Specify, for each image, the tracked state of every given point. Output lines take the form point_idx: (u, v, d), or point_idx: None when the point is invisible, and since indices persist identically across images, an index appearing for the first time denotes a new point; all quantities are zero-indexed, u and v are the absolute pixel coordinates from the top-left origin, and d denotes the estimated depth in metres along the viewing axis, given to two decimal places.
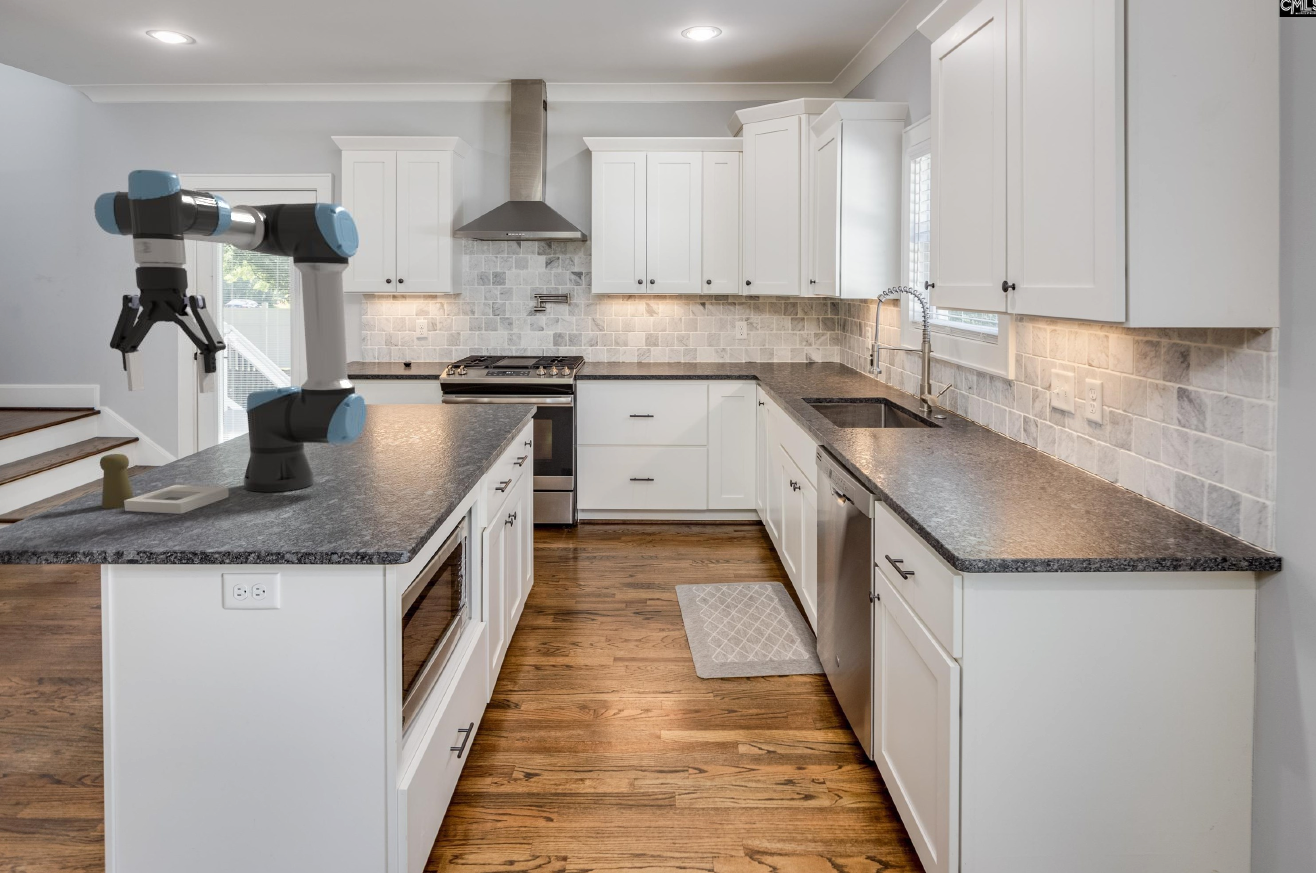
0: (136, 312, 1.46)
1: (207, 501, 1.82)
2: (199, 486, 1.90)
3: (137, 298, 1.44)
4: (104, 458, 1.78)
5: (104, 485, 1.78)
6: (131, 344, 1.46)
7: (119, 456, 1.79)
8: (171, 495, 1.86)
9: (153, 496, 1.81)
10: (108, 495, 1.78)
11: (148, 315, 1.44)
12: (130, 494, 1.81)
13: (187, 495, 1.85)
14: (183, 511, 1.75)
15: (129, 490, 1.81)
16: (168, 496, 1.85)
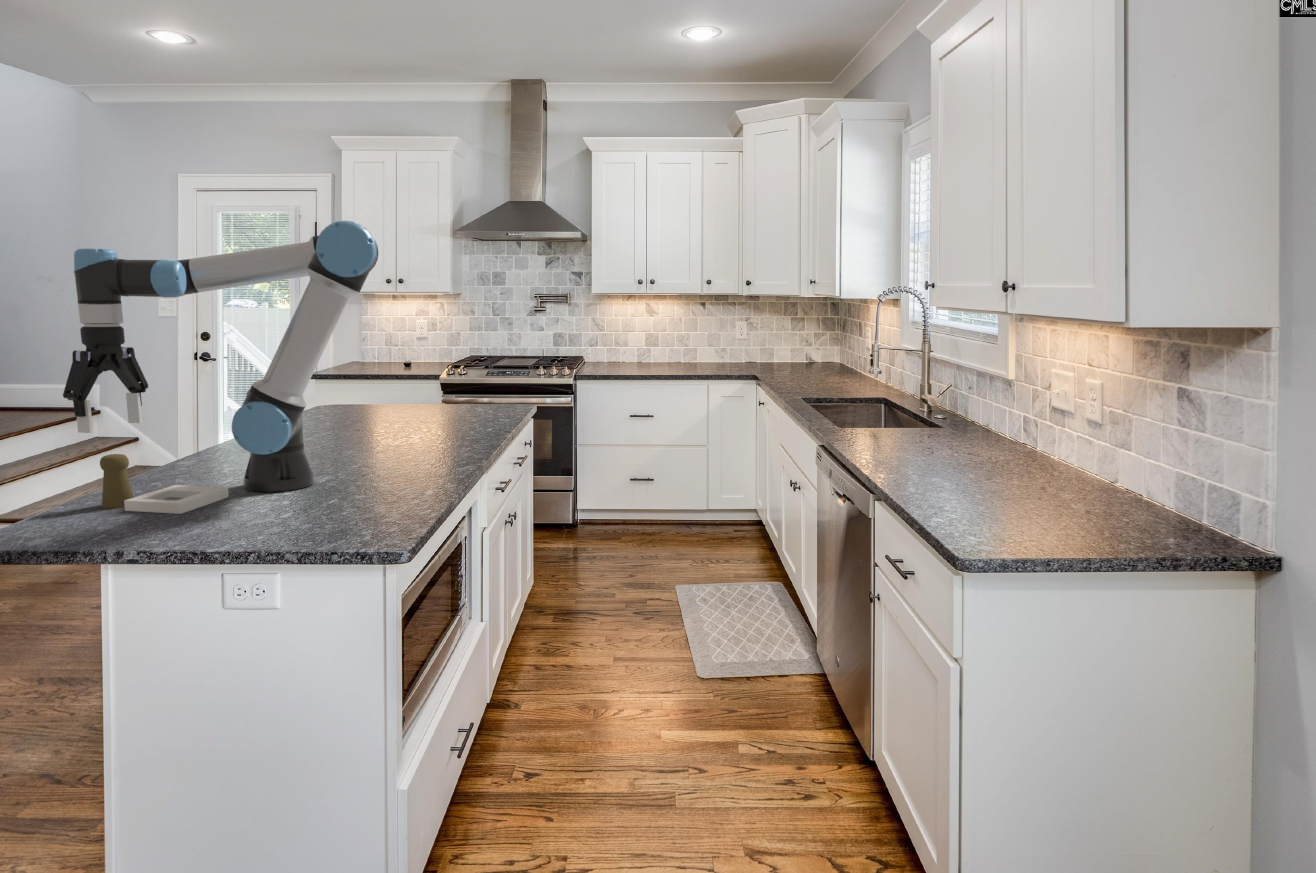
0: (130, 361, 1.82)
1: (207, 501, 1.82)
2: (199, 486, 1.90)
3: None
4: (104, 458, 1.78)
5: (104, 485, 1.78)
6: (126, 386, 1.83)
7: (119, 456, 1.79)
8: (171, 495, 1.86)
9: (153, 496, 1.81)
10: (108, 495, 1.78)
11: None
12: (130, 494, 1.81)
13: (187, 495, 1.85)
14: (183, 511, 1.75)
15: (129, 490, 1.81)
16: (168, 496, 1.85)
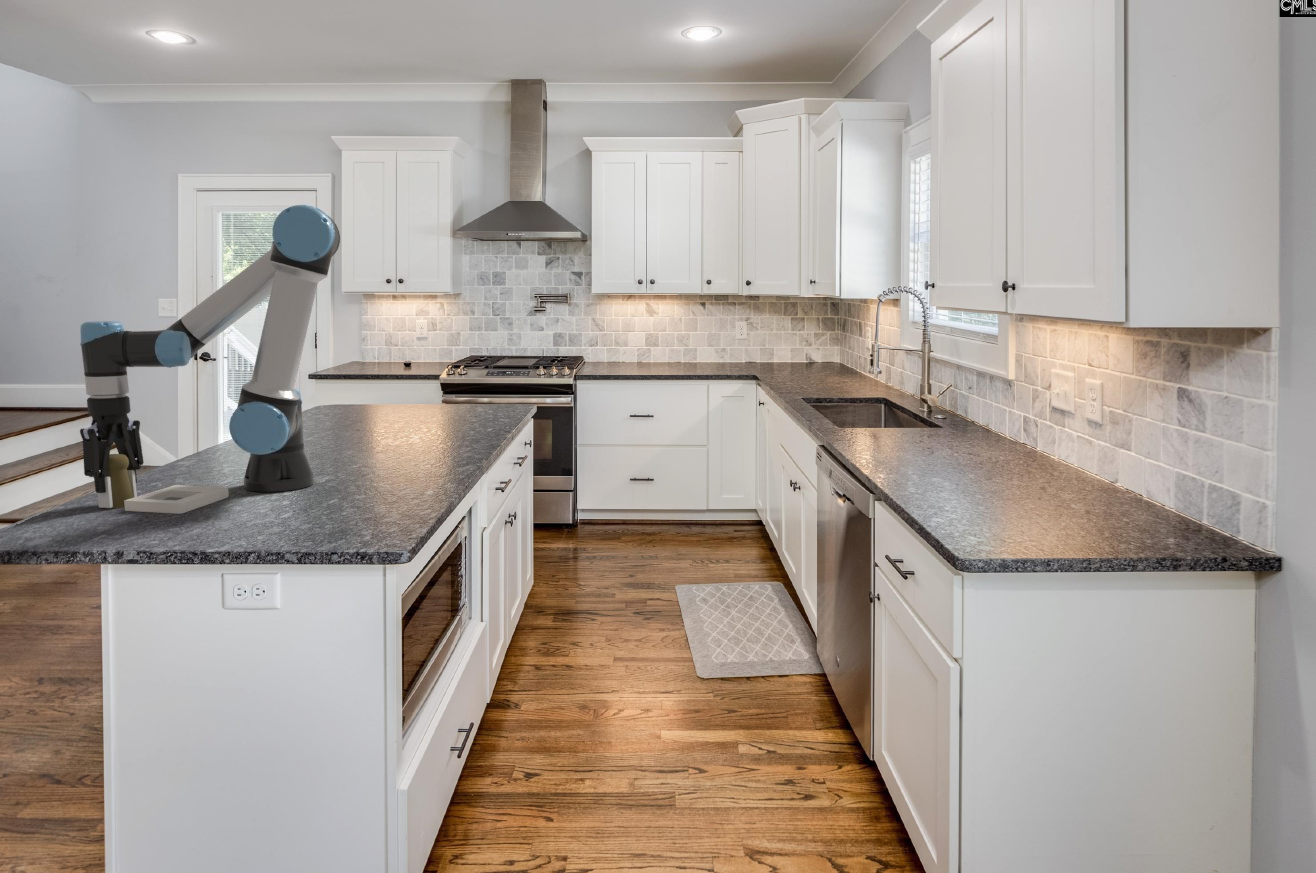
0: (133, 433, 1.84)
1: (207, 501, 1.82)
2: (199, 486, 1.90)
3: None
4: None
5: None
6: None
7: (119, 456, 1.79)
8: (171, 495, 1.86)
9: (153, 496, 1.81)
10: None
11: None
12: (130, 494, 1.81)
13: (187, 495, 1.85)
14: (183, 511, 1.75)
15: (129, 490, 1.81)
16: (168, 496, 1.85)
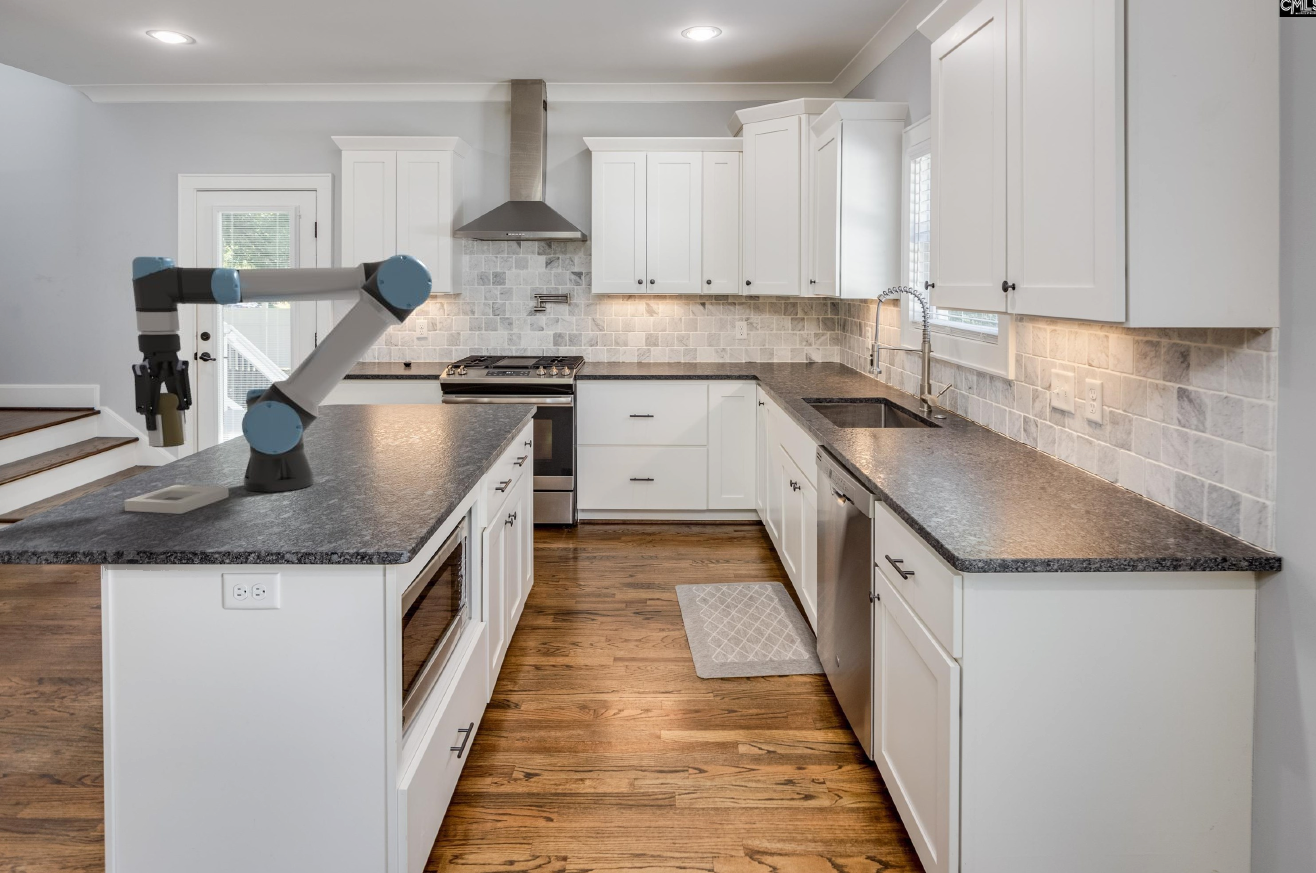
0: (182, 373, 1.82)
1: (207, 501, 1.82)
2: (199, 486, 1.90)
3: None
4: None
5: None
6: None
7: (169, 394, 1.77)
8: (171, 495, 1.86)
9: (153, 496, 1.81)
10: None
11: None
12: (180, 434, 1.79)
13: (187, 495, 1.85)
14: (183, 511, 1.75)
15: (179, 429, 1.79)
16: (168, 496, 1.85)
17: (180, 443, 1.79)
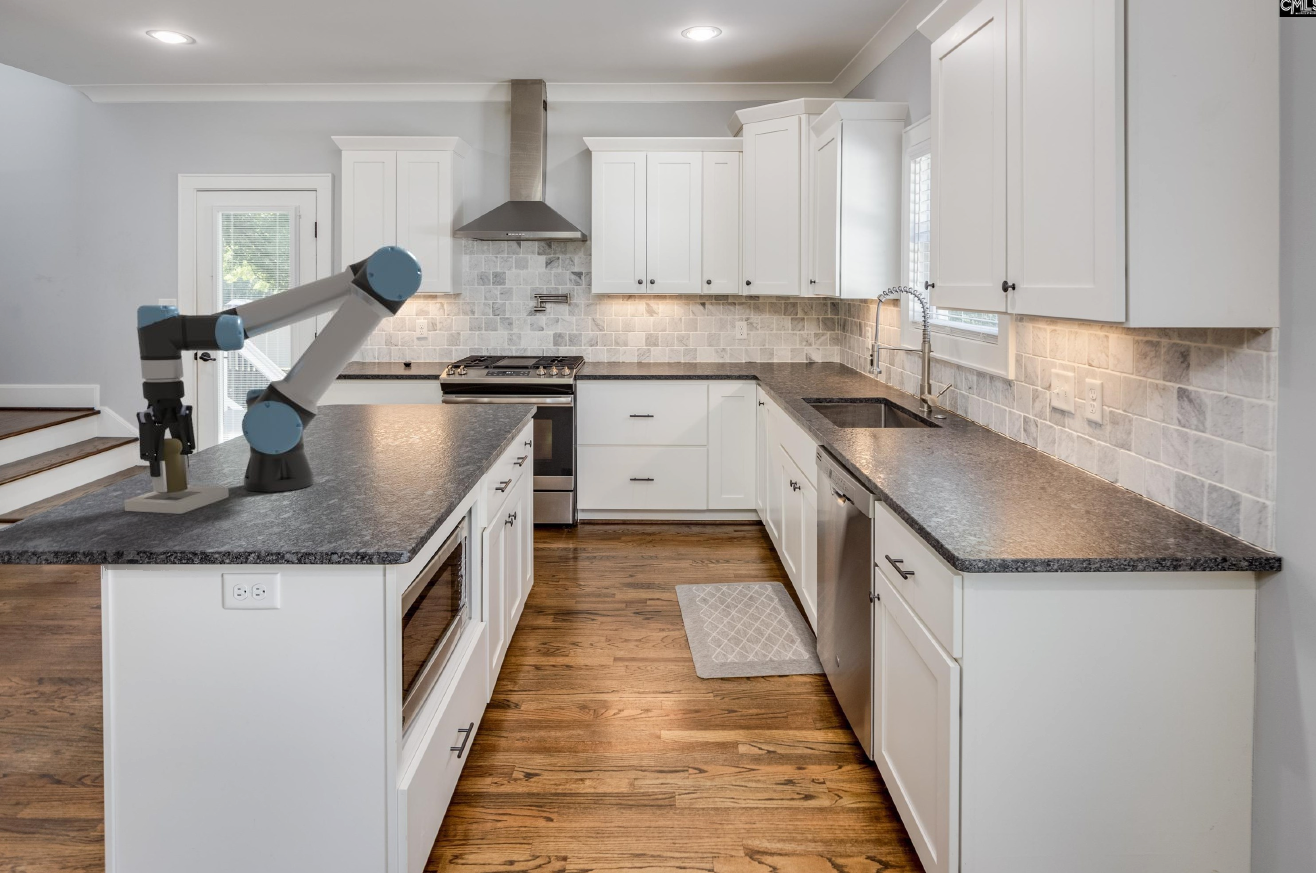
0: (186, 418, 1.83)
1: (207, 501, 1.82)
2: (199, 486, 1.90)
3: None
4: None
5: None
6: None
7: (173, 440, 1.78)
8: (171, 495, 1.86)
9: (153, 496, 1.81)
10: None
11: None
12: (183, 479, 1.80)
13: (187, 495, 1.85)
14: (183, 511, 1.75)
15: (182, 475, 1.80)
16: (168, 496, 1.85)
17: (183, 488, 1.80)
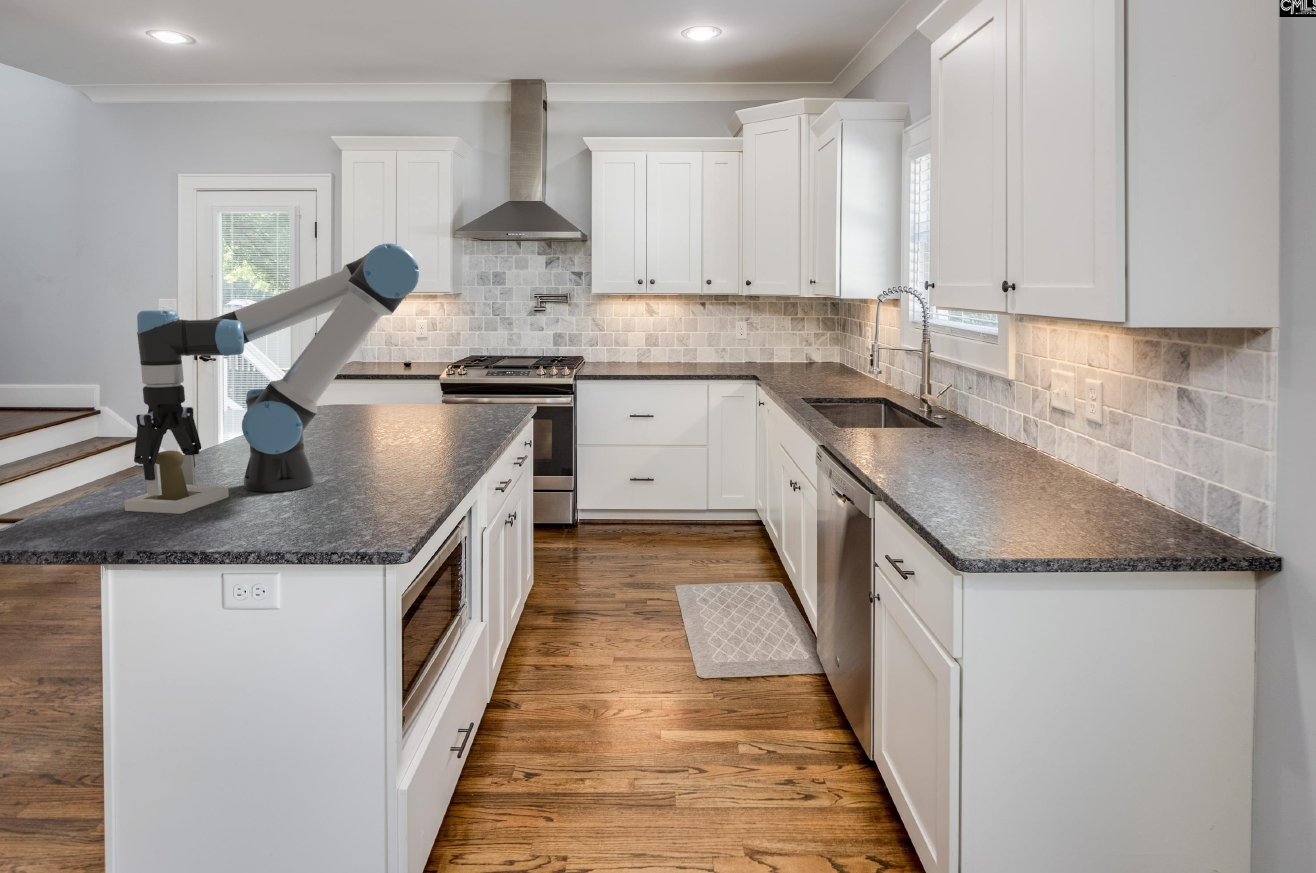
0: (188, 420, 1.84)
1: (207, 501, 1.82)
2: (199, 486, 1.90)
3: None
4: (159, 455, 1.77)
5: None
6: (181, 447, 1.84)
7: (174, 453, 1.79)
8: None
9: (153, 496, 1.81)
10: (164, 491, 1.78)
11: None
12: (185, 491, 1.81)
13: None
14: (183, 511, 1.75)
15: (184, 486, 1.81)
16: None
17: None
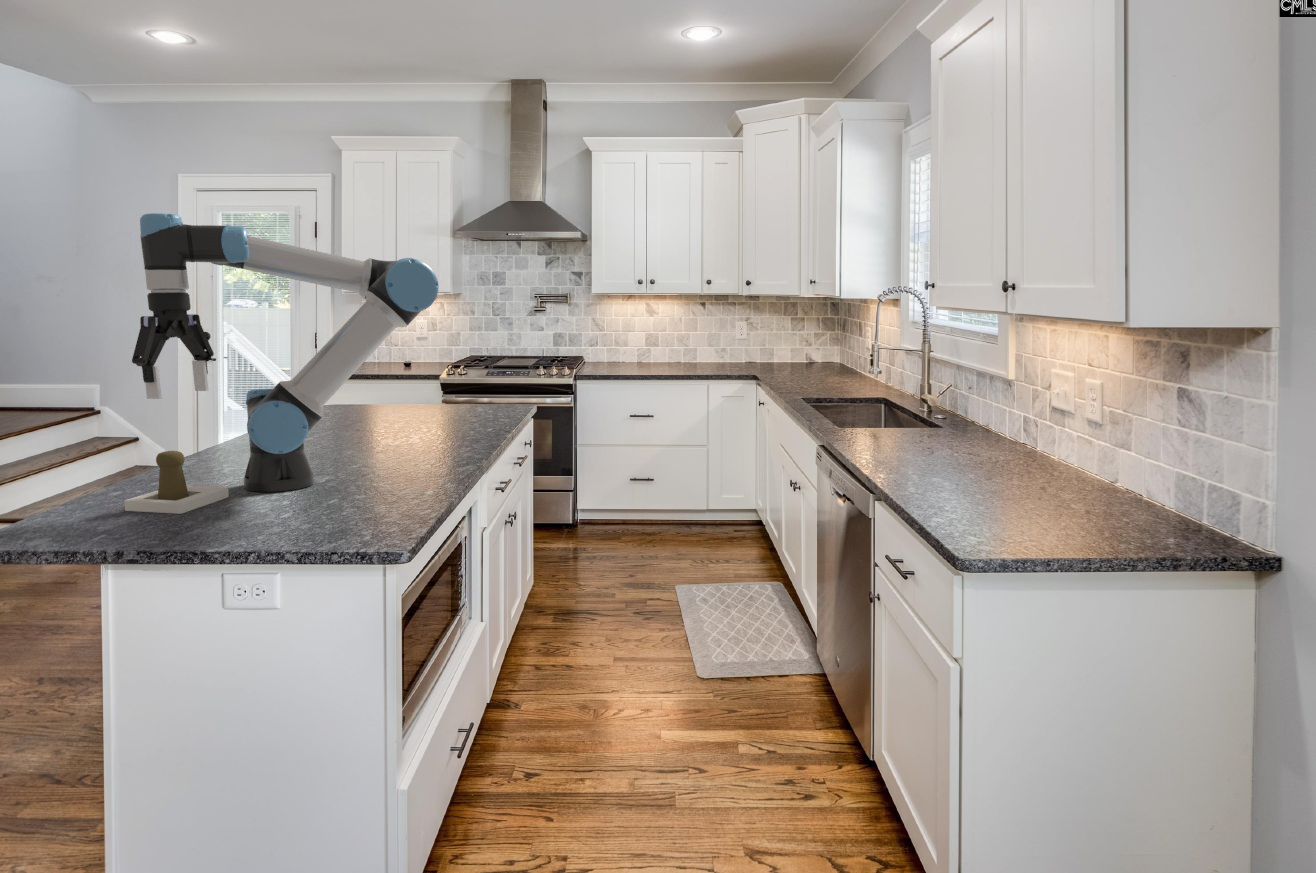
0: (196, 328, 1.81)
1: (207, 501, 1.82)
2: (199, 486, 1.90)
3: None
4: (160, 455, 1.78)
5: (160, 482, 1.79)
6: (192, 354, 1.82)
7: (175, 453, 1.79)
8: None
9: (153, 496, 1.81)
10: (164, 491, 1.78)
11: None
12: (185, 491, 1.81)
13: None
14: (183, 511, 1.75)
15: (184, 487, 1.81)
16: None
17: None
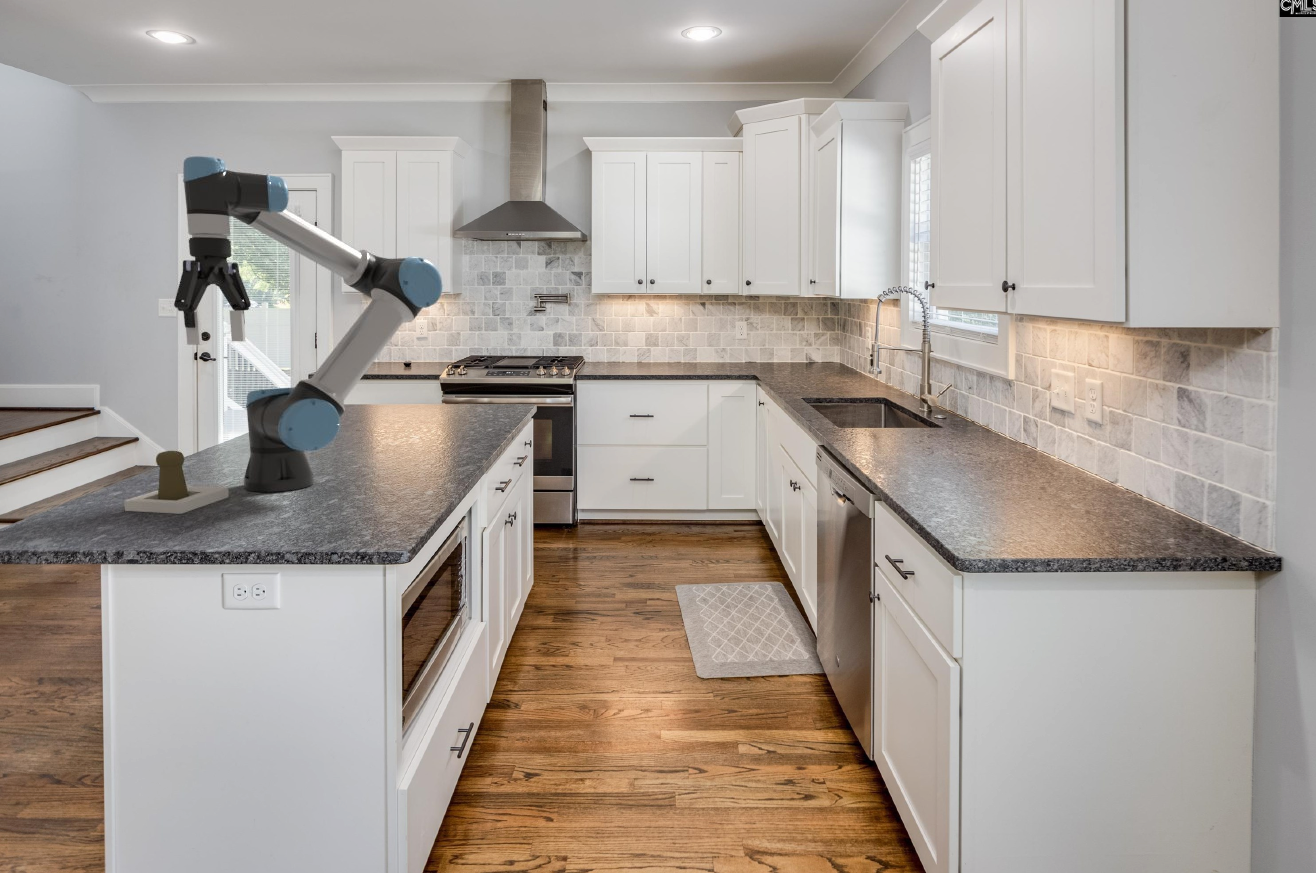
0: (235, 277, 1.78)
1: (207, 501, 1.82)
2: (199, 486, 1.90)
3: None
4: (160, 455, 1.78)
5: (160, 482, 1.79)
6: (230, 303, 1.80)
7: (175, 453, 1.79)
8: None
9: (153, 496, 1.81)
10: (164, 491, 1.78)
11: None
12: (185, 491, 1.81)
13: None
14: (183, 511, 1.75)
15: (184, 487, 1.81)
16: None
17: None
